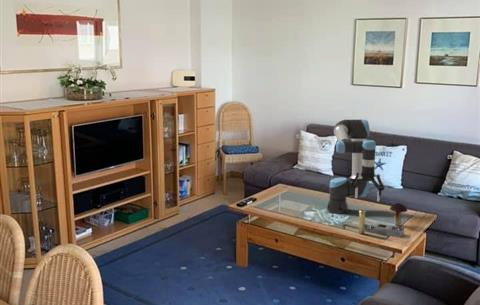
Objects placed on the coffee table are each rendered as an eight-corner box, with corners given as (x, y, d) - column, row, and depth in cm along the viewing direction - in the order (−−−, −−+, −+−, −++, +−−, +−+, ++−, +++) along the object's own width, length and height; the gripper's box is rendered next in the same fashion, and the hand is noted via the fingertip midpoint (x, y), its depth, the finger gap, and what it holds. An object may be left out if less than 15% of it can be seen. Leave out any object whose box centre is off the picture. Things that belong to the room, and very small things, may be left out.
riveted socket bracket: (360, 230, 313) (360, 223, 312) (364, 226, 319) (364, 220, 318) (400, 237, 300) (401, 230, 299) (404, 234, 306) (404, 227, 305)
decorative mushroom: (386, 222, 326) (387, 201, 323) (402, 222, 327) (403, 200, 324) (392, 228, 315) (393, 206, 312) (409, 228, 316) (410, 205, 313)
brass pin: (357, 234, 307) (357, 211, 304) (359, 231, 310) (360, 209, 307) (363, 235, 305) (364, 212, 302) (365, 233, 308) (366, 210, 305)
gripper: (346, 165, 304) (345, 198, 308) (387, 169, 292) (386, 203, 296) (350, 162, 310) (349, 195, 314) (390, 166, 298) (389, 200, 302)
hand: (367, 199), depth 305 cm, fingers open, 13 cm apart
